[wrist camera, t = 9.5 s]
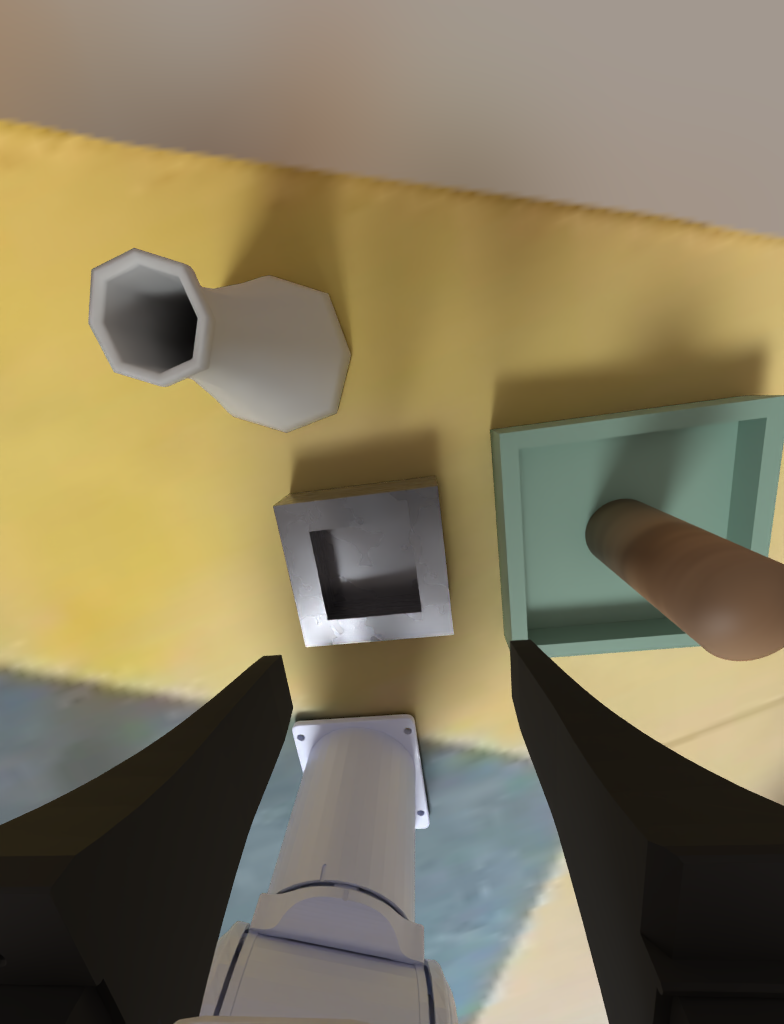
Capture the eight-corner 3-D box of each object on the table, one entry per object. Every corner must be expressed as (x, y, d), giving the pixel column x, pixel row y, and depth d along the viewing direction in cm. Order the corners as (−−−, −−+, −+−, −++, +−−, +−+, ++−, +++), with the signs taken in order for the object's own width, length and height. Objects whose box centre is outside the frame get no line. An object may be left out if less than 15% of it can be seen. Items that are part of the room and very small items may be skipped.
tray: (722, 617, 22) (756, 641, 20) (504, 635, 23) (513, 660, 21) (745, 395, 18) (790, 395, 16) (490, 429, 20) (499, 433, 17)
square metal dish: (450, 609, 23) (453, 634, 20) (317, 621, 23) (305, 647, 21) (435, 475, 20) (437, 486, 18) (289, 493, 21) (273, 506, 19)
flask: (347, 272, 18) (268, 131, 9) (356, 430, 20) (301, 459, 11) (198, 281, 19) (-34, 156, 9) (221, 434, 21) (52, 465, 11)
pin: (655, 559, 20) (803, 656, 12) (585, 566, 20) (688, 665, 13) (657, 494, 19) (819, 555, 12) (584, 503, 20) (695, 568, 12)
